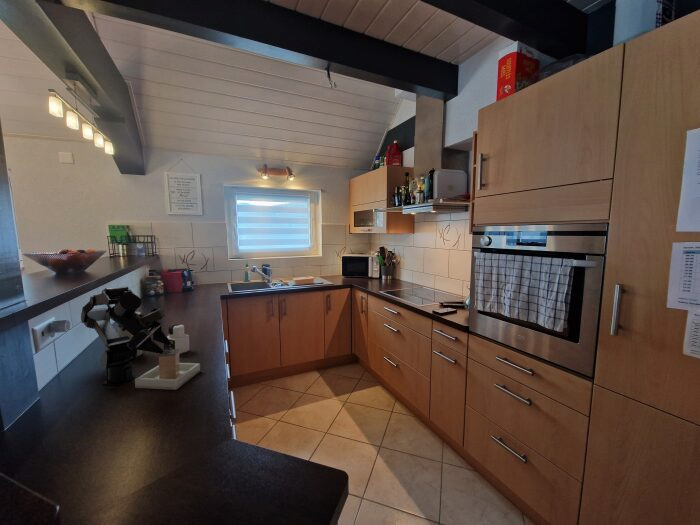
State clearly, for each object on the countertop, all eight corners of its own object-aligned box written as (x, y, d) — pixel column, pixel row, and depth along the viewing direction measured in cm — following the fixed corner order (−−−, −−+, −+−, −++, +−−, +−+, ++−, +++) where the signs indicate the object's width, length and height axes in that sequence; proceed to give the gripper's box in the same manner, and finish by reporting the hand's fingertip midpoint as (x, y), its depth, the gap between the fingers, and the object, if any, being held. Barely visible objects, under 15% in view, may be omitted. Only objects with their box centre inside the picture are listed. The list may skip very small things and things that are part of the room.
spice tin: (159, 380, 99) (158, 355, 99) (163, 374, 104) (163, 350, 104) (175, 379, 101) (175, 353, 100) (179, 373, 106) (179, 348, 105)
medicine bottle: (163, 353, 126) (162, 326, 125) (178, 348, 133) (178, 322, 132) (174, 355, 123) (174, 328, 123) (189, 350, 130) (189, 324, 129)
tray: (135, 387, 96) (135, 379, 96) (164, 369, 110) (164, 362, 110) (176, 389, 95) (176, 380, 95) (200, 371, 109) (199, 363, 109)
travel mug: (133, 359, 119) (132, 316, 118) (114, 358, 119) (112, 315, 118) (147, 352, 127) (146, 311, 126) (129, 351, 127) (128, 311, 126)
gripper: (138, 307, 91) (178, 338, 95) (156, 297, 108) (189, 324, 112) (108, 334, 88) (151, 365, 93) (131, 319, 106) (166, 346, 110)
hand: (166, 348), depth 102 cm, fingers open, 9 cm apart
